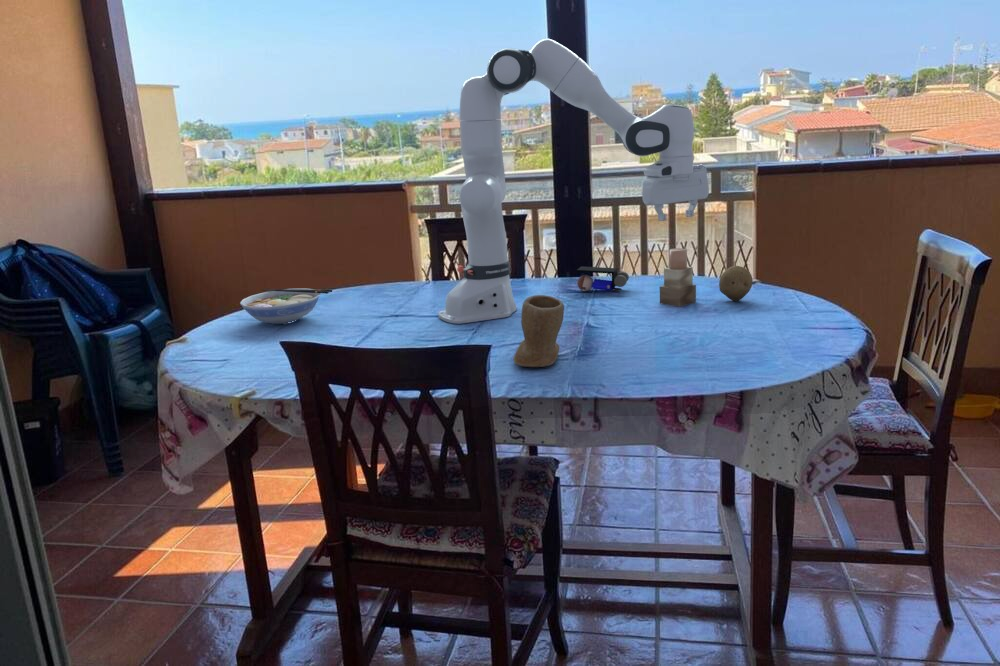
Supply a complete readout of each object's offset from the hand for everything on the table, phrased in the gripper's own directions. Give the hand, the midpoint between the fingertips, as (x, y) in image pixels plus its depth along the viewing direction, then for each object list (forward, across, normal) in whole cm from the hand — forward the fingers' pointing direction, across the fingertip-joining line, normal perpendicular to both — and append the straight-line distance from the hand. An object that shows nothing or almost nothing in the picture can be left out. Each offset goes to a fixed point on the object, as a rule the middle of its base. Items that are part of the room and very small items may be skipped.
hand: (676, 218), depth 219 cm
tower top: (+19, -1, 0) cm, 19 cm away
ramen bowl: (+25, +96, -60) cm, 116 cm away
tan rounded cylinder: (+14, 0, 0) cm, 14 cm away
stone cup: (+24, +56, +20) cm, 64 cm away
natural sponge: (+23, -12, +10) cm, 28 cm away
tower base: (+24, 0, 0) cm, 24 cm away
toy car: (+24, +6, -26) cm, 36 cm away
